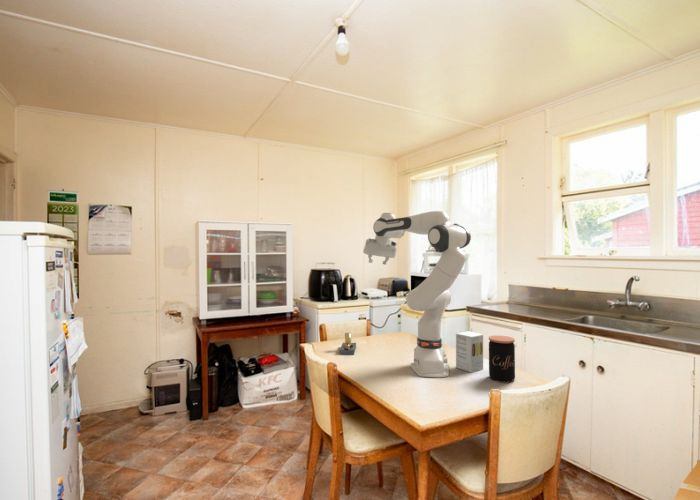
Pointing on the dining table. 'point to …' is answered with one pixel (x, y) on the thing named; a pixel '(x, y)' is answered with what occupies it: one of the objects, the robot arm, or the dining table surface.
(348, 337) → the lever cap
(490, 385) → the dining table surface
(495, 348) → the coffee jar
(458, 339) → the supplement box
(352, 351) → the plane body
